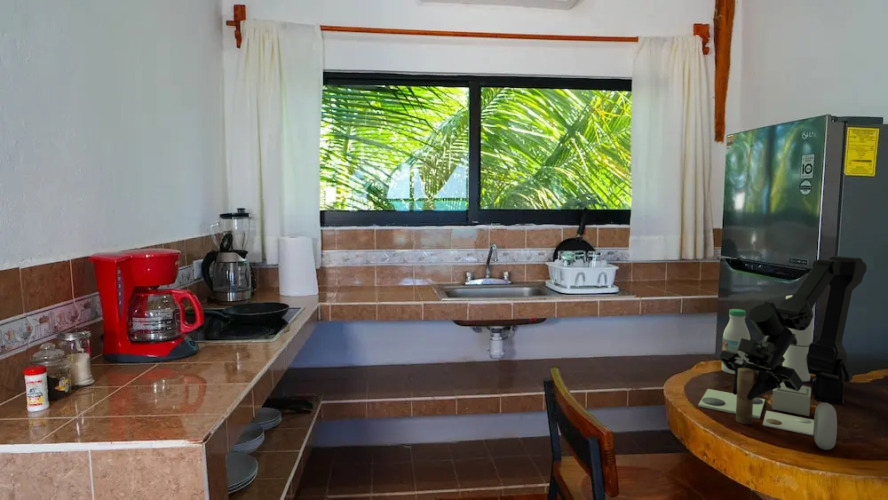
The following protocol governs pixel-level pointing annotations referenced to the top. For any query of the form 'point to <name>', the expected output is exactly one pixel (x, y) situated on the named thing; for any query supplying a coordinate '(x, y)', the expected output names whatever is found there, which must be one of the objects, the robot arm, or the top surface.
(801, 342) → the cylindrical container
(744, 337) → the milk bottle
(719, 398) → the board
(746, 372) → the pin
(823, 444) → the donut
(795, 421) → the card
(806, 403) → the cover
